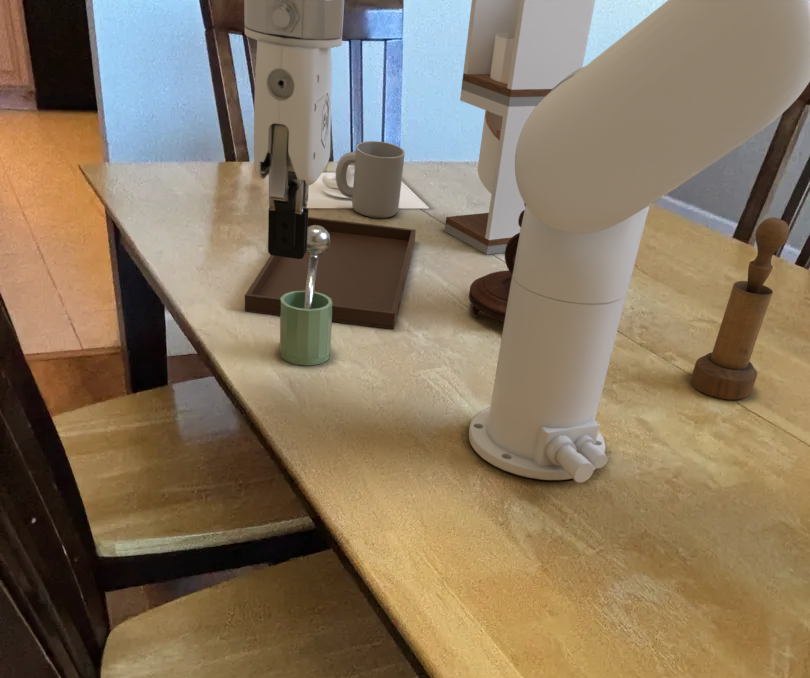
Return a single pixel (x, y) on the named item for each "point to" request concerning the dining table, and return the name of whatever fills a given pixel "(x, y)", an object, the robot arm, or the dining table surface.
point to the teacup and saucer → (330, 196)
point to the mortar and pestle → (741, 323)
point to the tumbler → (305, 328)
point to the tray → (344, 273)
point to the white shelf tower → (513, 95)
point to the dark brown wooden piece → (495, 285)
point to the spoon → (314, 258)
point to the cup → (373, 178)
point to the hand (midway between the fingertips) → (287, 253)
